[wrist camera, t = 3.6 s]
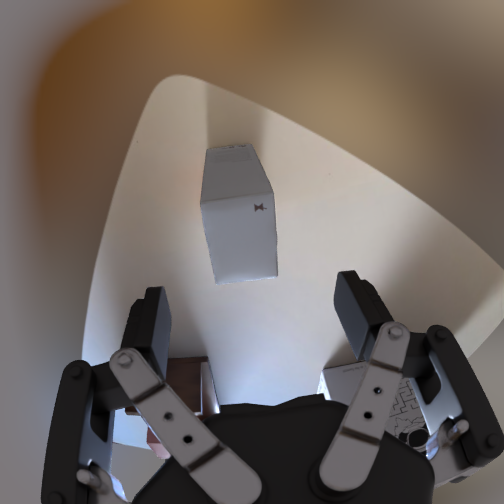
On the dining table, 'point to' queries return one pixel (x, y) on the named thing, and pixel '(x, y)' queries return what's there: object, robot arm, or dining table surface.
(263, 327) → the dining table surface
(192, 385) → the book rack
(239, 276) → the cosmetic box
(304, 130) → the dining table surface
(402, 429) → the cereal box
